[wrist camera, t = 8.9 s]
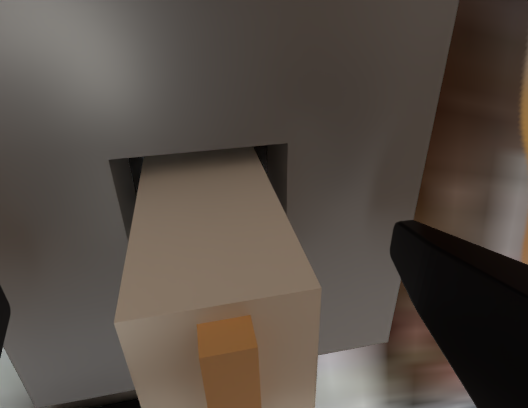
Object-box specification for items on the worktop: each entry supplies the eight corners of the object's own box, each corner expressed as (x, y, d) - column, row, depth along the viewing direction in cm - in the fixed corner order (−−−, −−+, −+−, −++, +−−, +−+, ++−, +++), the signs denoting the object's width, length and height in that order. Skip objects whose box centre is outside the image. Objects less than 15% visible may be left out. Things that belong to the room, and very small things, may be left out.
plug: (251, 217, 13) (325, 439, 7) (162, 228, 13) (150, 479, 6) (247, 134, 12) (336, 317, 5) (146, 144, 11) (107, 358, 5)
